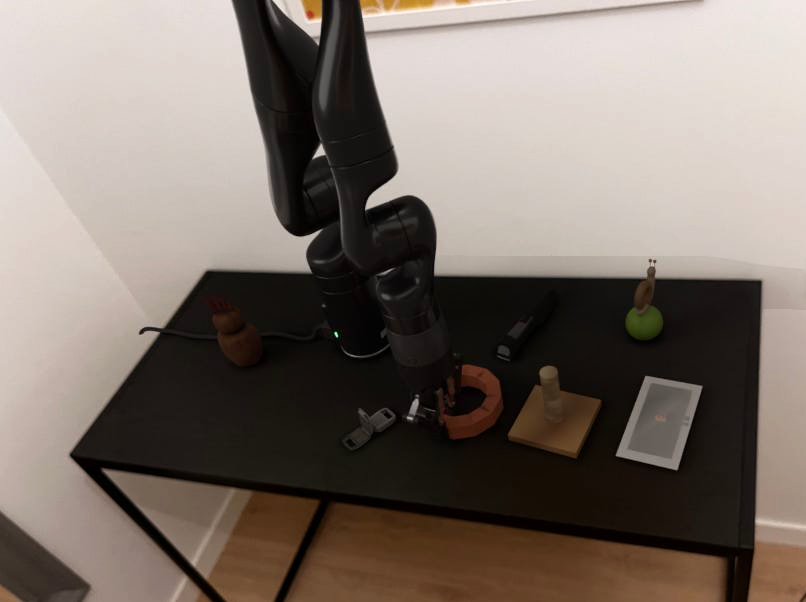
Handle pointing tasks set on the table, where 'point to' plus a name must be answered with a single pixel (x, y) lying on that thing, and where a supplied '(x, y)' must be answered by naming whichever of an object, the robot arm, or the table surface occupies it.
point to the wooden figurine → (235, 333)
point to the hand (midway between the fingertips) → (446, 430)
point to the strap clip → (369, 427)
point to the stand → (555, 417)
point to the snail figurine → (645, 310)
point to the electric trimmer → (525, 325)
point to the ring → (485, 413)
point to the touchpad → (660, 422)
